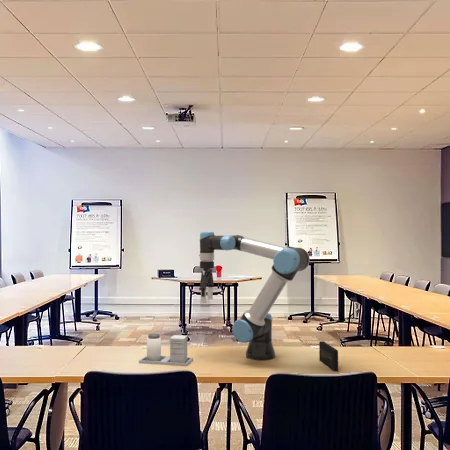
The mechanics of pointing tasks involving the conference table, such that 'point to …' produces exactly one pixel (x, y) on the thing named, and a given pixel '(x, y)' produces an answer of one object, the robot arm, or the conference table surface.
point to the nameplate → (328, 355)
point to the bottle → (154, 347)
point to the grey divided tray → (165, 361)
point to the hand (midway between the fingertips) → (206, 301)
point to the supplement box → (178, 349)
